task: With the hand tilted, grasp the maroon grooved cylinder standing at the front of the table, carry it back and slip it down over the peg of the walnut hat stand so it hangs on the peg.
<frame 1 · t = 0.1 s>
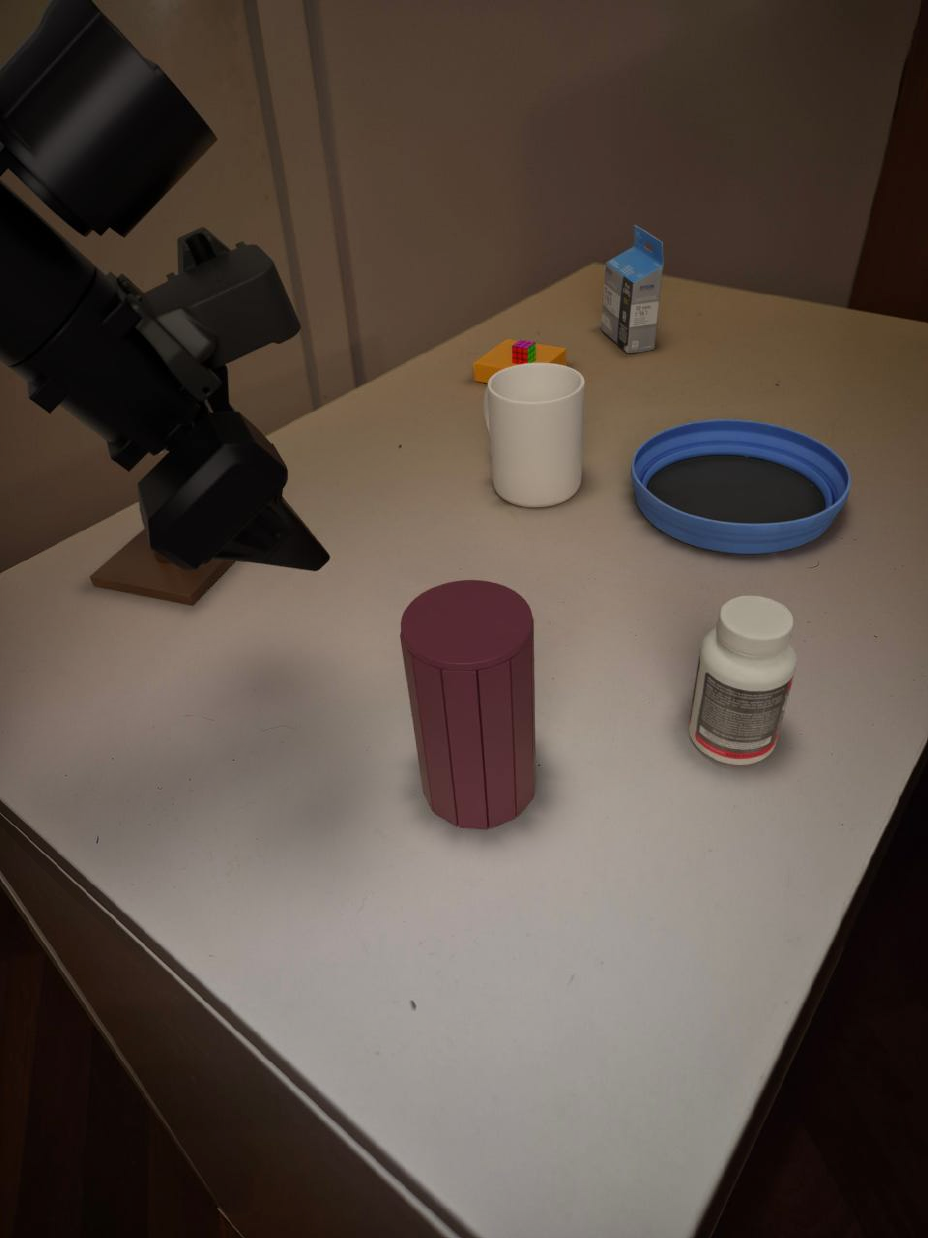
hand: (299, 521, 46), 16 cm above the table, tool tilted 35°, fingers open, 9 cm apart
pill bottle: (730, 737, 53), on the table
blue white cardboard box: (627, 341, 104), on the table
hat stand: (177, 561, 72), on the table
maroon grooved cylinder: (479, 782, 51), on the table
mug: (525, 480, 79), on the table
bowl: (732, 503, 74), on the table
orange slab with cube: (520, 375, 98), on the table
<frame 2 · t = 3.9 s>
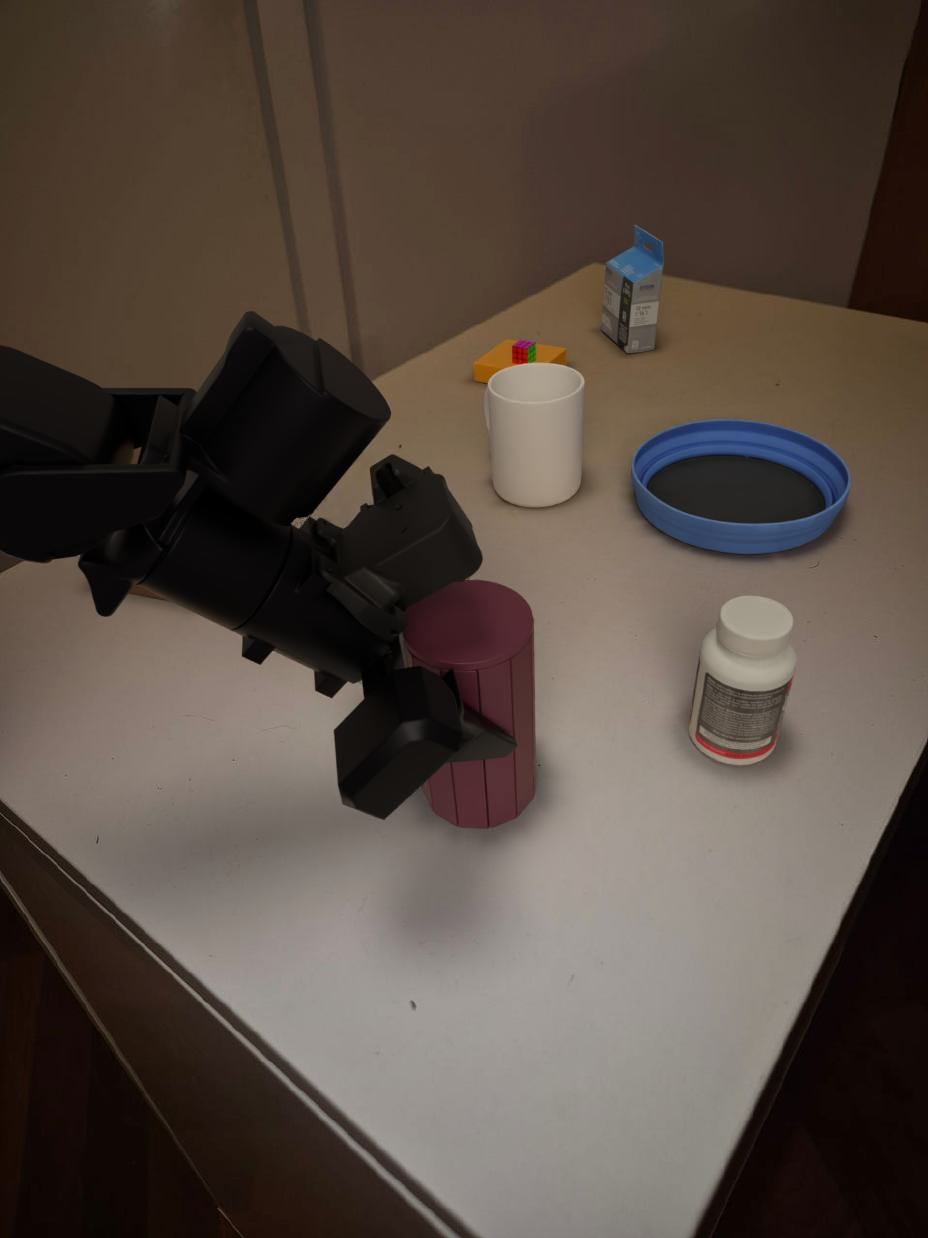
hand: (497, 702, 47), 7 cm above the table, tool tilted 45°, fingers closed on maroon grooved cylinder, 7 cm apart
maroon grooved cylinder: (479, 782, 51), on the table, touching gripper
everything else where it was.
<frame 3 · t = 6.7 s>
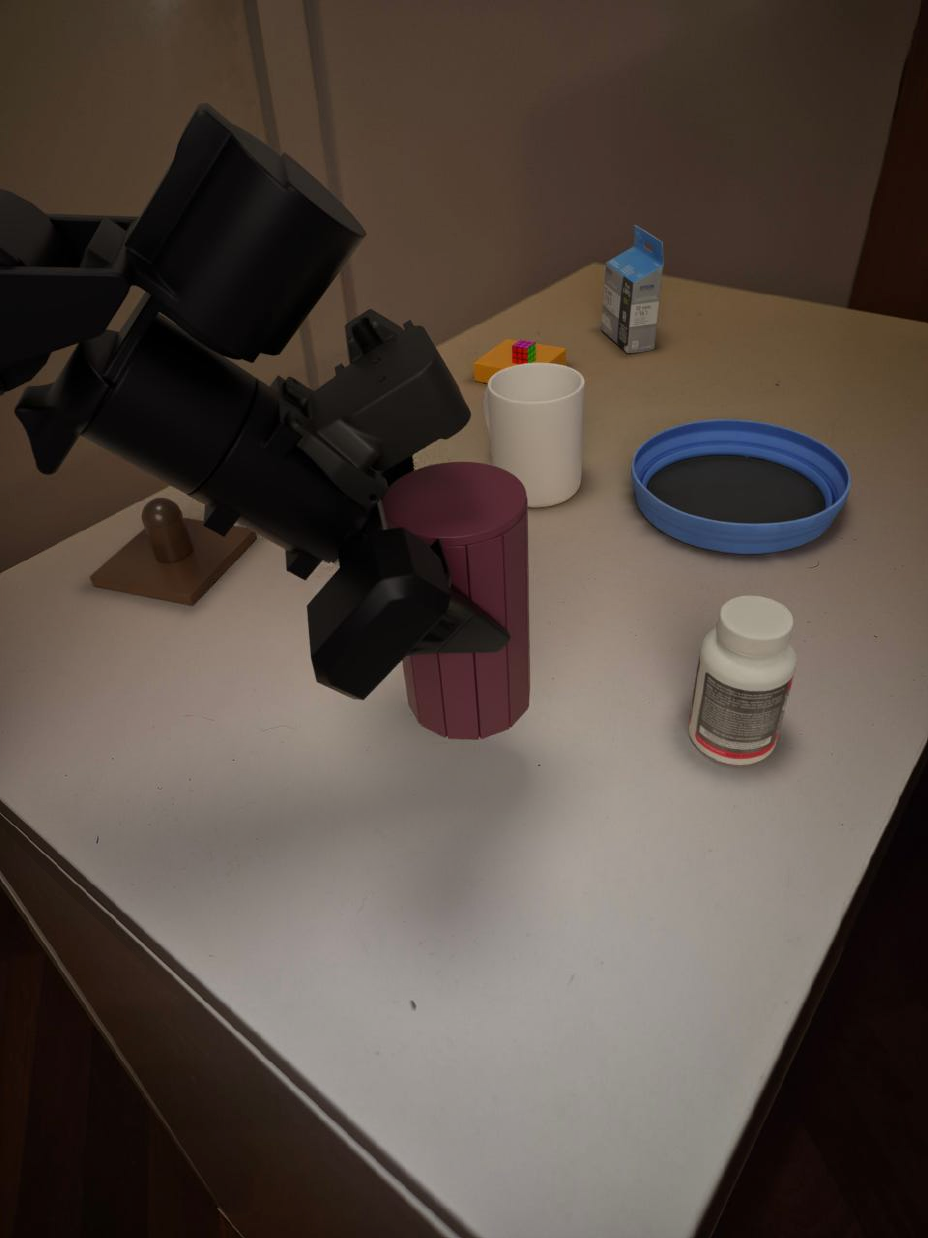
hand: (488, 599, 43), 14 cm above the table, tool tilted 45°, fingers closed on maroon grooved cylinder, 7 cm apart
maroon grooved cylinder: (469, 695, 47), point 7 cm above the table, touching gripper
everything else where it was.
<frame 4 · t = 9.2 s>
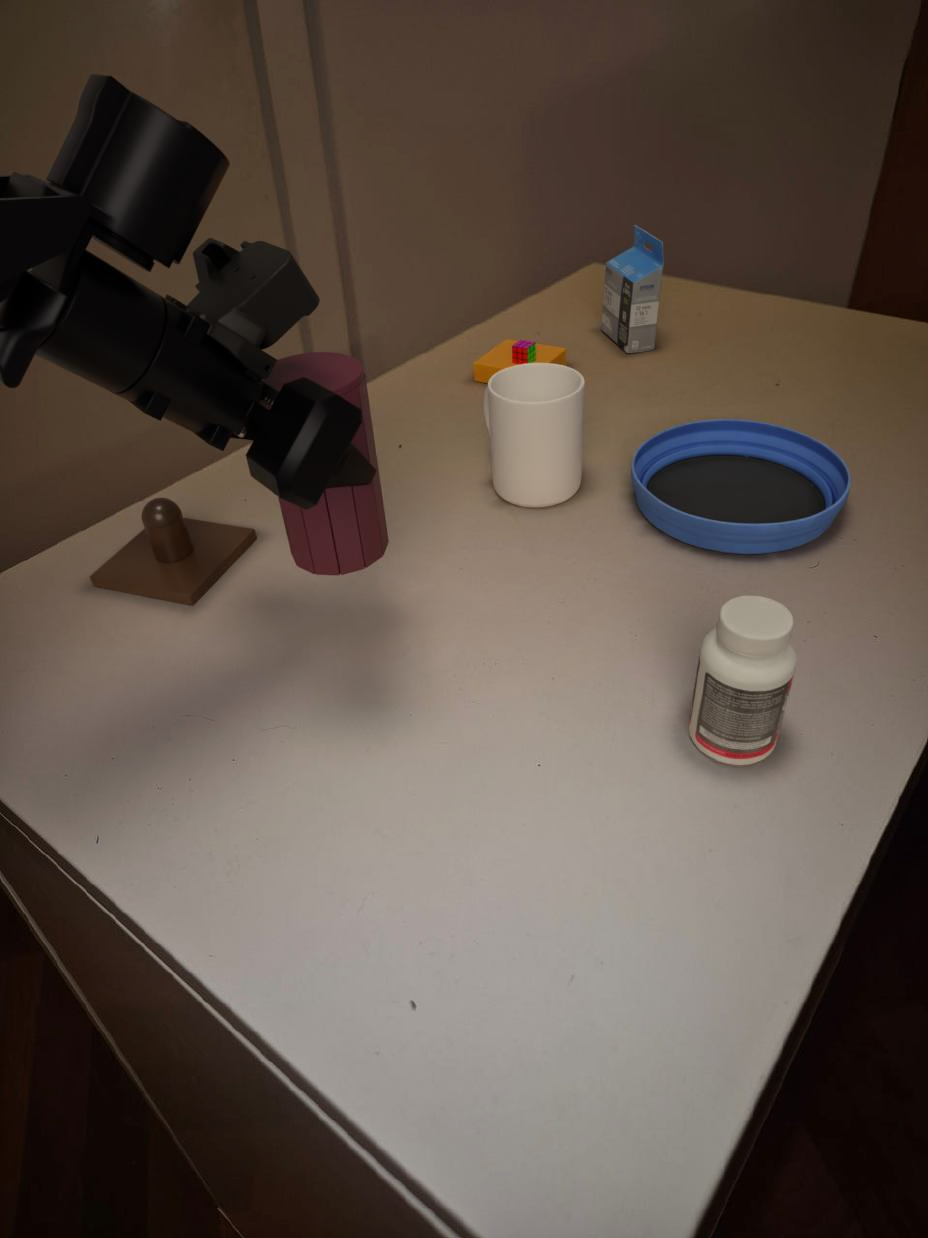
hand: (342, 457, 56), 14 cm above the table, tool tilted 45°, fingers closed on maroon grooved cylinder, 7 cm apart
maroon grooved cylinder: (340, 547, 60), point 7 cm above the table, touching gripper
everything else where it was.
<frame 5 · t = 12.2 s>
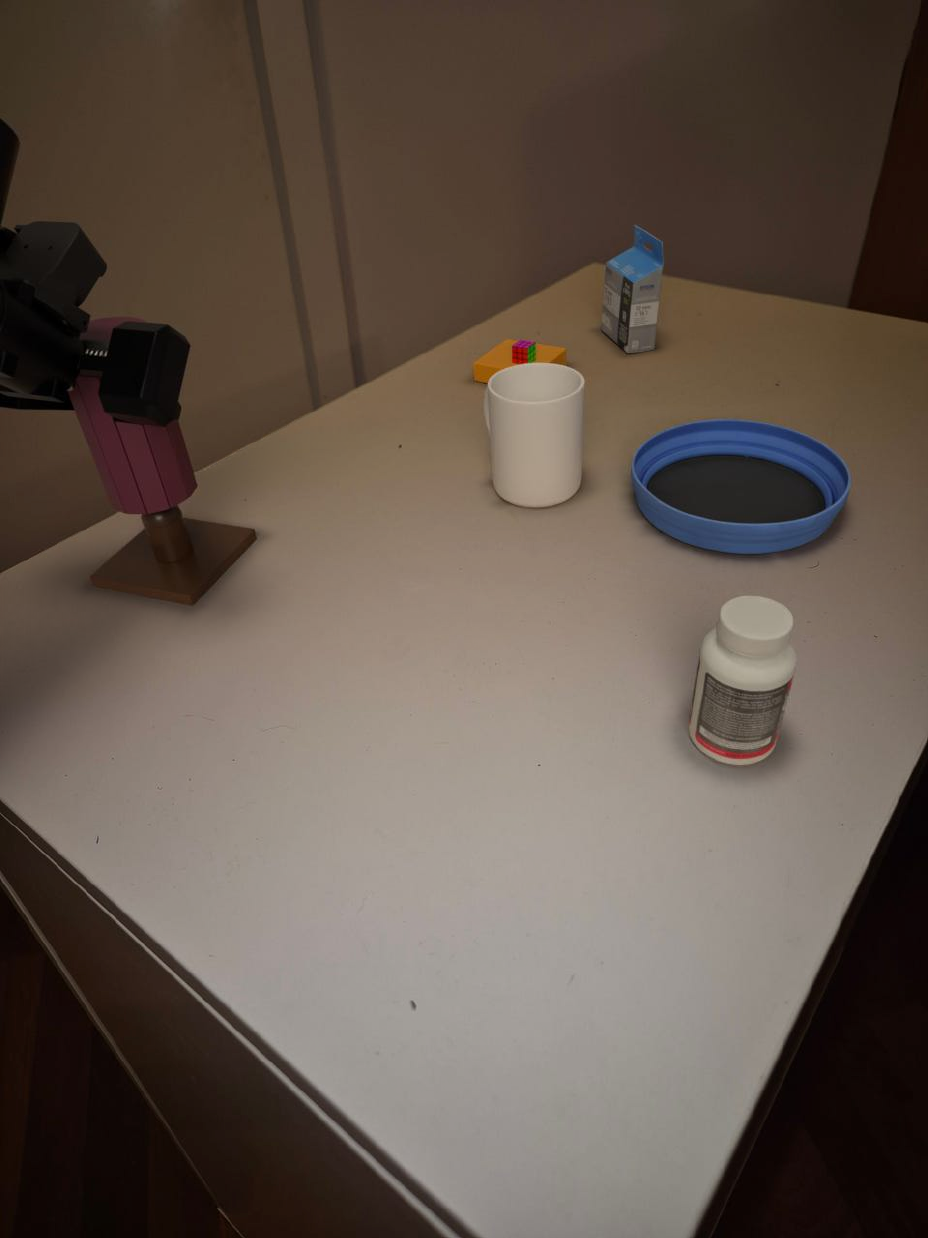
hand: (139, 408, 64), 14 cm above the table, tool tilted 45°, fingers closed on maroon grooved cylinder, 7 cm apart
maroon grooved cylinder: (154, 491, 68), point 7 cm above the table, touching gripper
everything else where it was.
when the fingers open (8 cm above the table, at t = 14.6 s): maroon grooved cylinder stays where it is, resting on hat stand.
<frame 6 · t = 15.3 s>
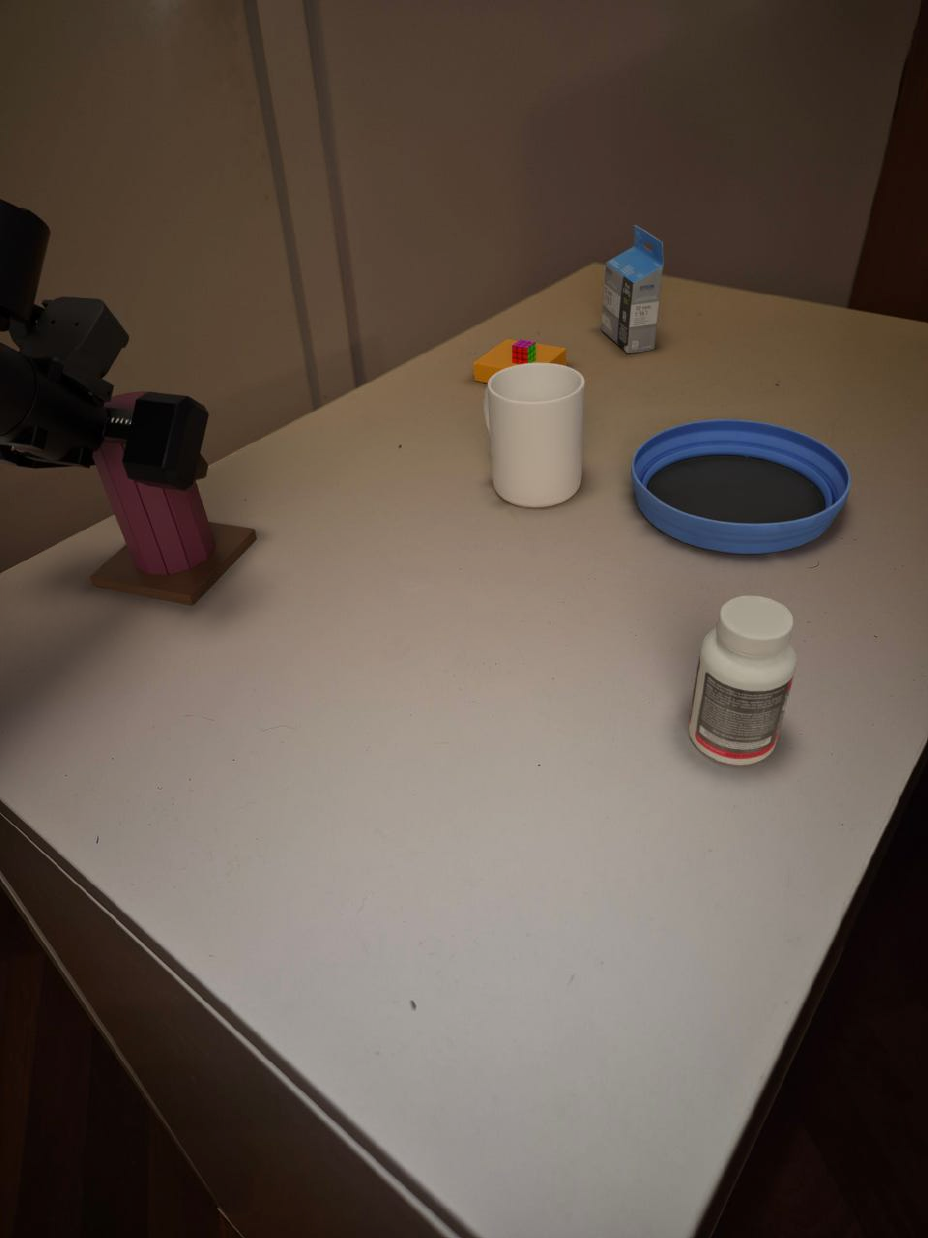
hand: (157, 464, 67), 9 cm above the table, tool tilted 45°, fingers open, 9 cm apart
maroon grooved cylinder: (174, 551, 71), point 1 cm above the table, touching hat stand
everything else where it was.
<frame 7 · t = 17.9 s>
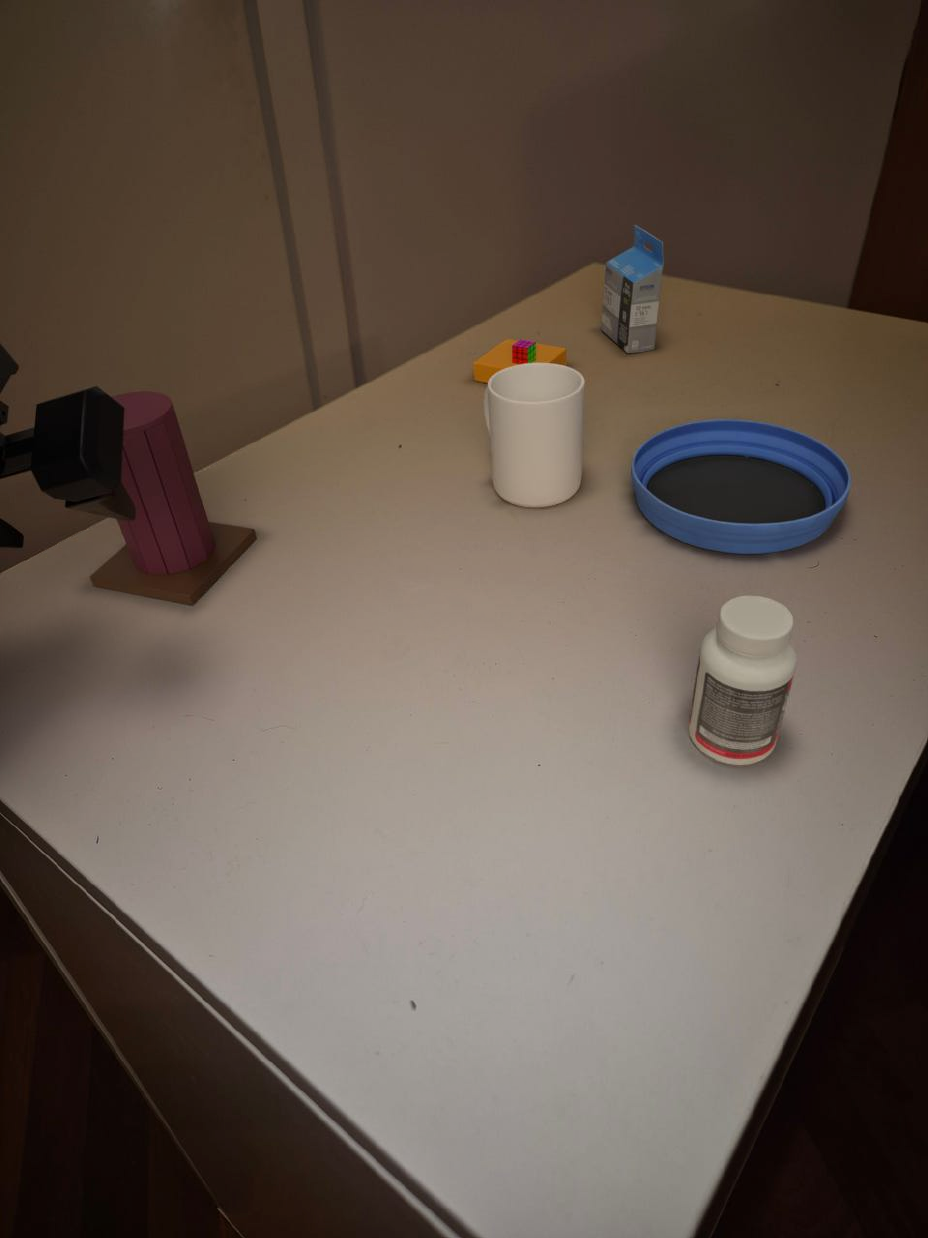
hand: (76, 528, 58), 10 cm above the table, tool tilted 35°, fingers open, 9 cm apart
nothing on the table moved.
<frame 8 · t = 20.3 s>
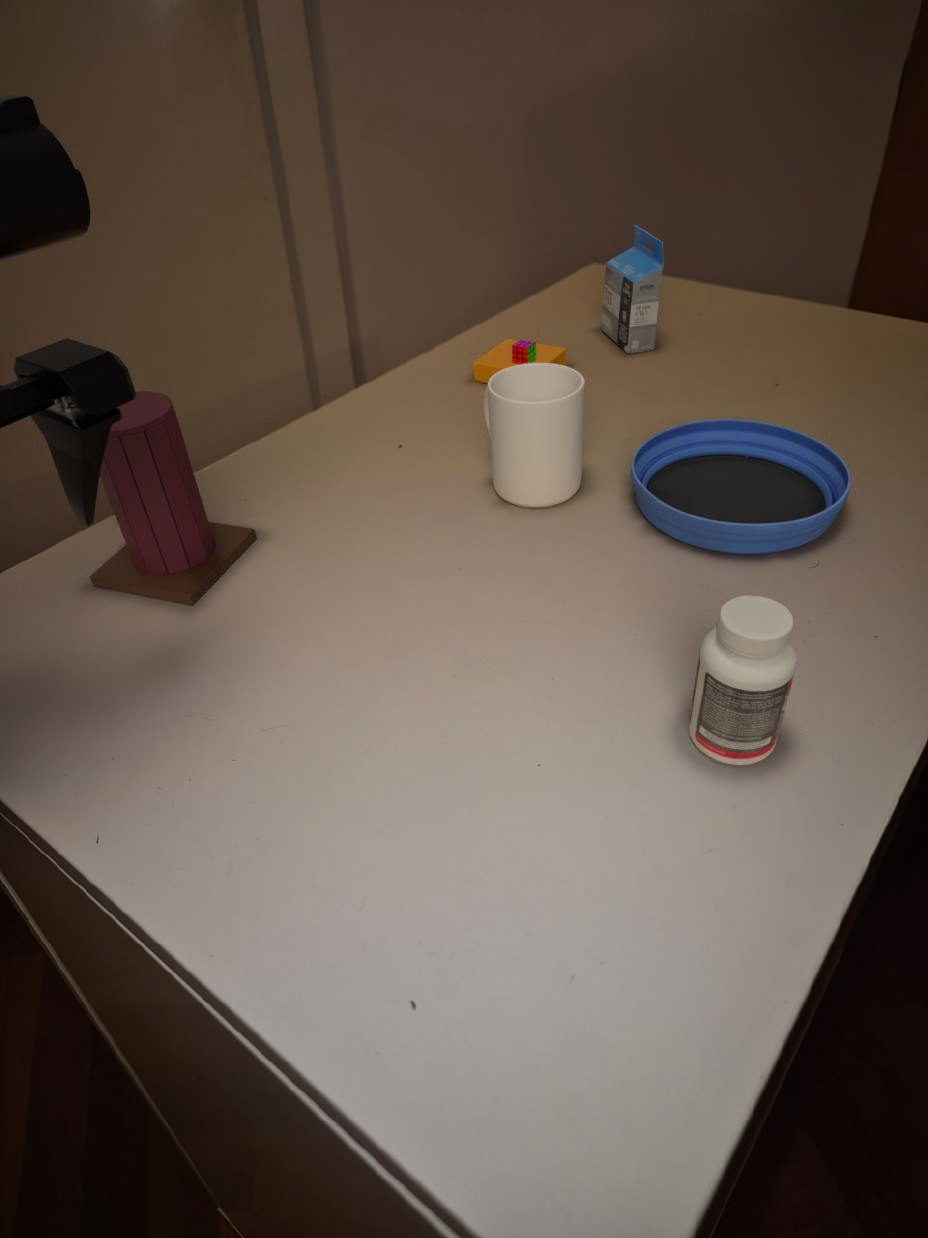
hand: (19, 559, 50), 13 cm above the table, tool pointing down, fingers open, 9 cm apart
nothing on the table moved.
at the end: maroon grooved cylinder 0.1 cm off-centre on the hat stand, point 1.0 cm above the hat stand's base; maroon grooved cylinder tilted 0°; the gripper is holding nothing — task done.
